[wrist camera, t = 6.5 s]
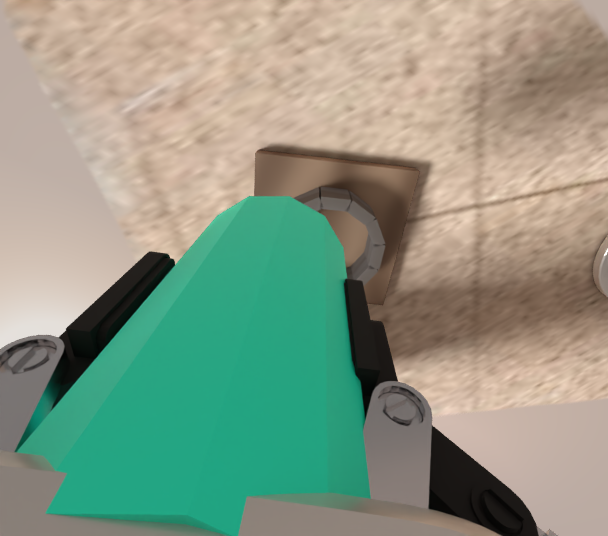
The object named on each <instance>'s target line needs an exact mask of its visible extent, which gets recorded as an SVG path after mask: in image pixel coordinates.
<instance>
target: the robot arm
mask: <svg viewBox="0 0 608 536" xmlns="http://www.w3.org/2000/svg"><path fill="white" fill-rule="evenodd" d="M174 266H175V261H174V259H170V257H169V255H168V254H165V253H158V252H148V253H147V254H146V255H145V256H144V257H143V258H142V259H141V260H139V261H138V262H137V263H136V264H135V265H134V266H133V267H132V268H131V269H130V270H129V271H128V272H126V273H125V274H124V275H123V276H122V277H121V278H120V279H119V280H118V281H117V282H116V283H115V284H114V285H112V286H111V287H110V288H109V289H108V290H107V291H106V292H105V293H104V294H103V295H102V296H101V297H100V298H99V299H97V300H96V301H95V302H94V303H93V304H92V305H91V306H90V307H89V308H88V309H87V310H85V312H83V314H81V315H80V316H79V317H78V318H77V319H76V320H75V321H74V322H73V323H71V324H70V325H69V326H68V327H67V328H66V331H65V332H64V333H63V334H62V335H61V336H60V337H59V338H58V337H55V336H51V335H36V336H30V337H26V338H23V339H19V340H17V341H15V342H12V343H10V344H8V345H6V346H4V347H3V348H1V349H0V536H227V535H224V534H220V533H216V532H212V531H208V530H205V529H201V528H197V527H194V526H190V525H186V524H174V523H160V522H146V521H133V520H120V519H107V518H95V517H82V516H70V515H57V514H45V513H46V511H47V509H48V507H49V505H50V504H51V502H52V500H53V498H54V496H55V495H56V493H57V491H58V489H59V487H60V486H61V484H62V482H63V480H64V478H65V476H66V475H67V473H64V472H59V471H55V470H54V468H53V467H52V465H51V464H50V463H49V461H48V460H47V459H46V458H45V457H44V456H41V455H33V454H24V453H16V452H17V451H18V449H19V448H20V447H21V446H22V445H23V444H24V442H25V441H26V440H27V439H28V438H29V437H30V435H31V434H32V433H33V432H34V431H35V429H36V428H37V427H38V426H39V425H40V424H41V422H42V421H43V420H44V419H45V418H46V417H47V415H48V414H49V413H50V412H51V411H52V409H53V408H54V407H55V406H56V405H57V404H58V402H59V401H60V400H61V399H62V398H63V397H64V395H65V394H66V393H67V392H68V391H69V389H70V388H71V387H72V386H73V385H74V384H75V382H76V381H77V380H78V379H79V378H80V377H81V375H82V374H83V373H84V372H85V371H86V369H87V368H88V367H89V366H90V365H91V364H92V362H93V361H94V360H95V359H96V358H97V357H98V355H99V354H100V353H101V352H102V351H103V349H104V348H105V347H106V346H107V345H108V344H109V342H110V341H111V340H112V339H113V338H114V337H115V335H116V334H117V333H118V332H119V331H120V329H121V328H122V327H123V326H124V325H125V324H126V322H127V321H128V320H129V319H130V318H131V317H132V315H133V314H134V313H135V312H136V311H137V310H138V308H139V307H140V306H141V305H142V304H143V302H144V301H145V300H146V299H147V298H148V297H149V295H150V294H151V293H152V292H153V291H154V290H155V288H156V287H157V286H158V285H159V284H160V282H161V281H162V280H163V279H164V278H165V277H166V275H167V274H168V273H169V272H170V271H171V270H172V268H173V267H174ZM593 278H594V282H595V285H596V286H597V288H598V289H599V291H600V292H601V293H603V294H604V295H605V296H606V297H608V235H607V237H606V238H605V240H604V241H603V243H602V244H601V246H600V248H599V250H598V252H597V254H596V257H595V260H594V265H593ZM344 291H345V300H346V309H347V319H348V328H349V337H350V347H351V356H352V361H353V364H354V367H355V375H356V376H357V377H358V379H359V380H360V382H361V390H362V398H363V406H364V414H365V423H364V428H363V436H364V444H365V452H366V461H367V469H368V478H369V486H370V495H371V499H369V498H362V497H356V496H349V495H343V494H336V493H300V494H274V495H260V496H247V498H246V503H245V507H244V512H243V516H242V521H241V525H240V530H239V534H238V536H557V535H556V534H555V533H554V532H552V531H551V530H550V529H549V530H548V531H547V532H546V533H545V532H544V531H542V530H541V529H540V528H538V527H537V526H536V523H535V521H534V519H533V517H532V515H531V513H530V511H529V510H528V508H527V507H526V506H525V504H524V503H523V501H522V500H521V499H520V498H519V497H518V496H517V495H516V494H515V493H514V492H513V491H512V490H511V489H509V488H508V487H507V486H506V485H505V484H503V483H502V482H501V481H499V480H498V479H497V478H496V477H495V476H493V475H492V474H491V473H490V472H488V471H487V470H486V469H485V468H484V467H482V466H481V465H480V464H479V463H478V462H476V461H475V460H474V459H473V458H471V457H470V456H469V455H468V454H466V453H465V452H464V451H463V450H461V449H460V448H459V447H458V446H457V445H455V444H454V443H453V442H452V441H451V440H449V439H448V438H447V437H445V436H444V435H443V434H442V433H441V432H440V431H438V430H437V429H436V428H435V427H433V426H432V412H431V408H430V406H429V404H428V402H427V400H426V399H425V398H424V397H423V396H422V394H421V393H419V392H418V391H417V390H415V389H414V388H413V387H411V386H409V385H407V384H405V383H401V382H398V380H397V376H396V372H395V368H394V364H393V360H392V356H391V352H390V348H389V344H388V341H387V337H386V333H385V329H384V325H383V323H382V322H381V321H374V320H370V316H369V311H368V306H367V301H366V296H365V291H364V286H363V282H362V281H361V280H354V279H345V282H344Z"/></svg>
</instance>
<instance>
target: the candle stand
mask: <svg viewBox="0 0 608 536" xmlns="http://www.w3.org/2000/svg"><path fill="white" fill-rule="evenodd" d="M419 173H420V171H418V170H417V169H416V168H412V167H404V166H395V165H386V164H377V163H368V162H360V161H351V160H342V159H333V158H325V157H316V156H307V155H298V154H289V153H281V152H272V151H263V150H258V151H257V152H256V153H255V189H254V196H290V197H292V198H294V199H295V200H297V201H299V202H301V203H302V204H304V205H306V206H308V207H310V208H311V209H313V210H315V211H317V212H319V213H320V214H322V215H324V216H325V217H326V219H327V221H328V222H329V224H330V226H331V227H332V229H333V231H334V232H335V234H336V236H337V238H338V239H339V241H340V243H341V244H342V246H343V249H344V257H345V265H346V272H347V279H354V280H361V281H362V282H363V286H364V291H365V296H366V301H367V303H369V304H378V305H383V303H384V300H385V296H386V293H387V289H388V285H389V282H390V278H391V274H392V271H393V267H394V264H395V260H396V256H397V253H398V249H399V245H400V242H401V238H402V235H403V231H404V227H405V224H406V220H407V216H408V213H409V209H410V206H411V202H412V198H413V195H414V191H415V187H416V184H417V180H418V177H419Z"/></svg>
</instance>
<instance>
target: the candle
mask: <svg viewBox="0 0 608 536" xmlns="http://www.w3.org/2000/svg"><path fill="white" fill-rule="evenodd" d="M345 279H347V272H346V265H345V257H344V249H343V246H342V244H341V243H340V241H339V239H338V238H337V236H336V234H335V232H334V231H333V229H332V227H331V226H330V224H329V222H328V221H327V219H326V217H325V216H324V215H322V214H320V213H319V212H317V211H315V210H313V209H311V208H310V207H308V206H306V205H304V204H302V203H301V202H299V201H297V200H295V199H294V198H292V197H290V196H249V197H247V198H245V199H244V200H242V201H240V202H239V203H237V204H236V205H234V206H232V207H231V208H229V209H227V210H226V211H224V212H222V213H221V214H219V215H217V217H216V218H215V219H214V220H213V221H212V222H211V224H210V225H209V226H208V227H207V228H206V230H205V231H204V232H203V233H202V234H201V235H200V237H199V238H198V239H197V240H196V241H195V242H194V244H193V245H192V246H191V247H190V248H189V250H188V251H187V252H186V253H185V254H184V255H183V257H182V258H181V259H180V260H179V261H178V262H177V264H176V265H175V266H174V267H173V268H172V270H171V271H170V272H169V273H168V274H167V275H166V277H165V278H164V279H163V280H162V281H161V282H160V284H159V285H158V286H157V287H156V288H155V290H154V291H153V292H152V293H151V294H150V295H149V297H148V298H147V299H146V300H145V301H144V302H143V304H142V305H141V306H140V307H139V308H138V310H137V311H136V312H135V313H134V314H133V315H132V317H131V318H130V319H129V320H128V321H127V322H126V324H125V325H124V326H123V327H122V328H121V329H120V331H119V332H118V333H117V334H116V335H115V337H114V338H113V339H112V340H111V341H110V342H109V344H108V345H107V346H106V347H105V348H104V349H103V351H102V352H101V353H100V354H99V355H98V357H97V358H96V359H95V360H94V361H93V362H92V364H91V365H90V366H89V367H88V368H87V369H86V371H85V372H84V373H83V374H82V375H81V377H80V378H79V379H78V380H77V381H76V382H75V384H74V385H73V386H72V387H71V388H70V389H69V391H68V392H67V393H66V394H65V395H64V397H63V398H62V399H61V400H60V401H59V402H58V404H57V405H56V406H55V407H54V408H53V409H52V411H51V412H50V413H49V414H48V415H47V417H46V418H45V419H44V420H43V421H42V422H41V424H40V425H39V426H38V427H37V428H36V429H35V431H34V432H33V433H32V434H31V435H30V437H29V438H28V439H27V440H26V441H25V442H24V444H23V445H22V446H21V447H20V448H19V449H18V451H17V452H16V453H24V454H33V455H41V456H44V457H45V458H46V459H47V460H48V461H49V463H50V464H51V465H52V467H53V468H54V470H55V471H59V472H64V473H67V475H66V476H65V478H64V480H63V482H62V484H61V486H60V487H59V489H58V491H57V493H56V495H55V496H54V498H53V500H52V502H51V504H50V505H49V507H48V509H47V511H46V513H45V514H57V515H70V516H82V517H95V518H107V519H120V520H133V521H146V522H160V523H174V524H186V525H190V526H194V527H197V528H201V529H205V530H208V531H212V532H216V533H220V534H224V535H227V536H238V534H239V530H240V525H241V521H242V516H243V512H244V507H245V503H246V498H247V496H260V495H274V494H300V493H336V494H343V495H349V496H356V497H362V498H369V499H371V495H370V486H369V478H368V469H367V461H366V452H365V444H364V436H363V428H364V423H365V414H364V406H363V398H362V390H361V382H360V380H359V379H358V377H357V376H356V375H355V367H354V364H353V361H352V356H351V347H350V337H349V328H348V319H347V309H346V300H345V291H344V282H345Z"/></svg>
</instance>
